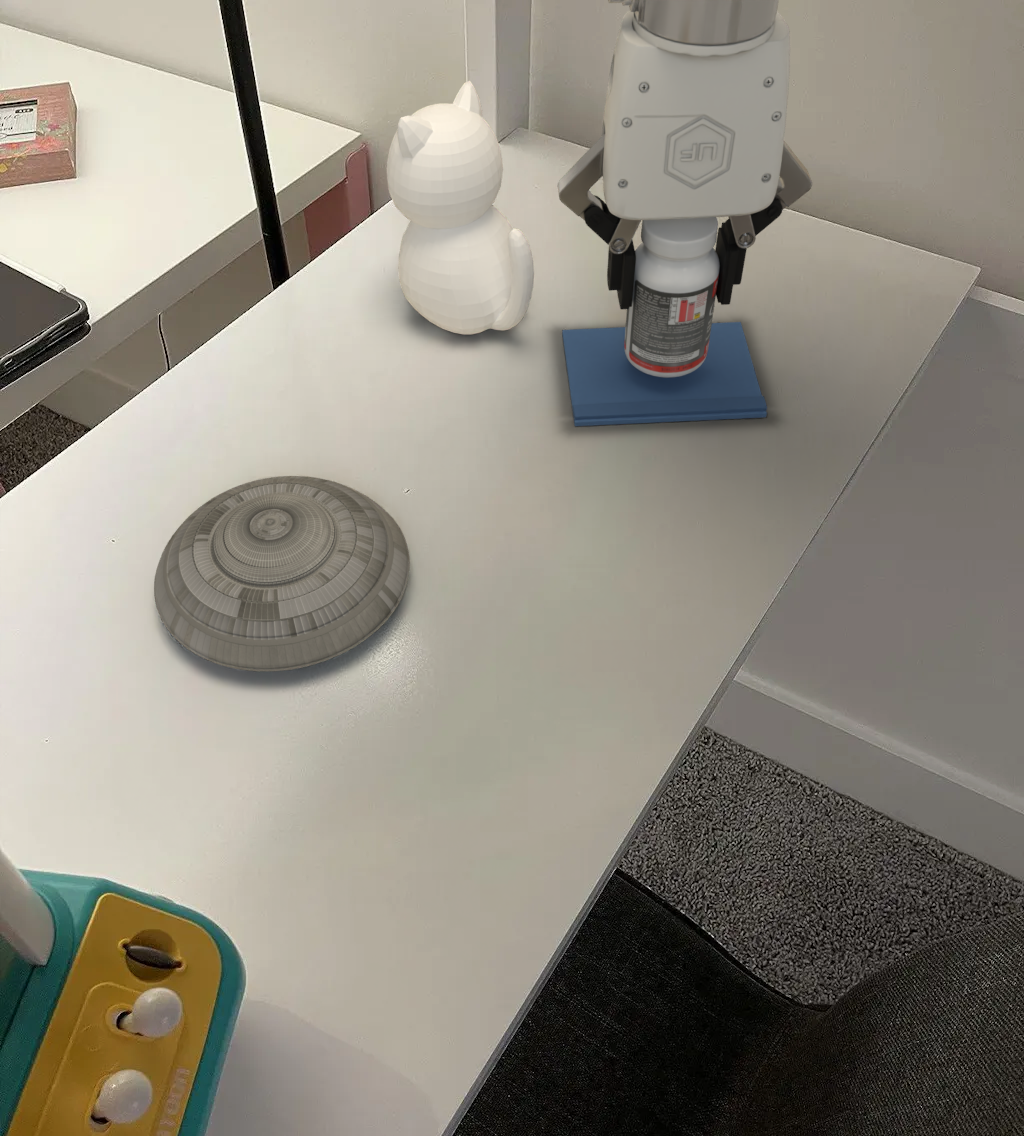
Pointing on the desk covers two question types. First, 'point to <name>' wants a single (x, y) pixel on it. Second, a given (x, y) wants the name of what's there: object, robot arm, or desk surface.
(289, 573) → the flying saucer
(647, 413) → the cloth
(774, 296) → the desk surface
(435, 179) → the cat figurine
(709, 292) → the pill bottle
